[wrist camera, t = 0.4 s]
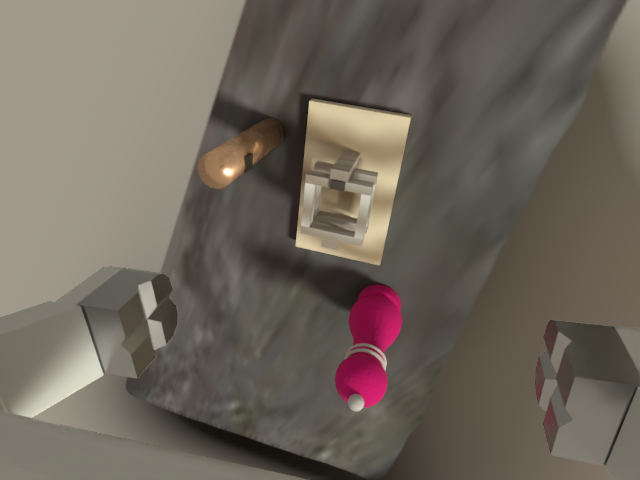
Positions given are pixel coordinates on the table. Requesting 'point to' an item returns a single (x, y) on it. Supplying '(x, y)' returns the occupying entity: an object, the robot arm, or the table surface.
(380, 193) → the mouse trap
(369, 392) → the pepper mill
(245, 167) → the brown rounded cylinder
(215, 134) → the table surface
